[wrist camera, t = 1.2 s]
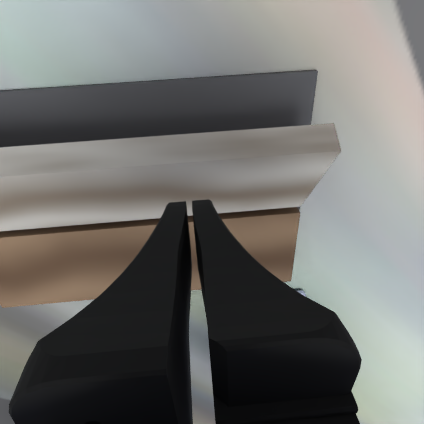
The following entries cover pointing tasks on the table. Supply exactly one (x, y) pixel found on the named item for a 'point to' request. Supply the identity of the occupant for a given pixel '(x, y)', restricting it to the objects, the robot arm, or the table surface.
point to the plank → (161, 175)
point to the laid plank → (123, 254)
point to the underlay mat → (156, 108)
